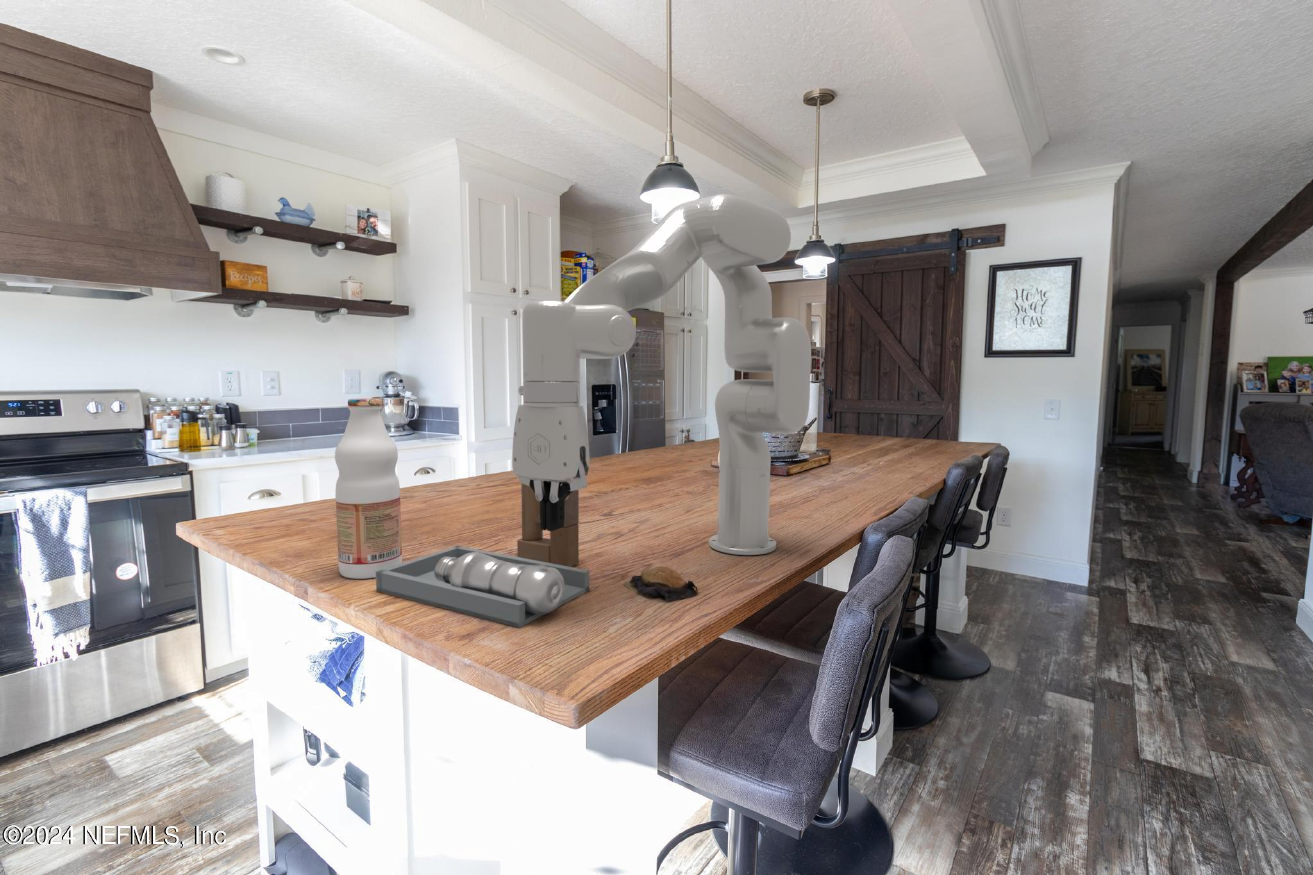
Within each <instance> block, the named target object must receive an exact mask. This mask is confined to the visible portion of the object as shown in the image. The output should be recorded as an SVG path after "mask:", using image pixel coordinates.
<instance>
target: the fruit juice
mask: <svg viewBox="0 0 1313 875" xmlns="http://www.w3.org/2000/svg"><path fill="white" fill-rule="evenodd" d="M382 406H383V402H382V399H381V398H349V399H348V400H347V409H348V410H349V412H350V413H349V417H348V420H347V424H346V427H345V430H344V433H343V435H342V437H341V440H340V441H339V443H338V445H337V446H336V448H335V452H334V454H335V455H334V460H335V465H336V467H337V470H338V478H337V480H336V482H335V495H334V496H335V513H336V514H335V515H336V534H337V535H336V537H337V557H338V559H337V560H338V571H339V573H340V575H341V576H342V577H344V578H347V579H352V580H353V579H355V580H357V579H358V580H361V579H362V580H365V579H372V578H375V579H376V571H379V570H382V569H385V568H389V567H392V566H395V565H398V564H401V563H403V550H402V549H403V548H402V547H403V545H402V520H401V519H402V515H401V514H402V512H401V488H400V482H399V481H400V480H399V478H398V475H397V473H396V467H397V462H398V459H399V453H398V448H397V445H396V443H395V442H394V440H393V439H392V438H391V436H390V435H389V432H388V430H387V428H386V425H385V422H384V420H383V417H382V414H381V410H382V409H383V408H382Z"/></svg>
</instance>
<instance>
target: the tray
mask: <svg viewBox="0 0 1313 875" xmlns="http://www.w3.org/2000/svg"><path fill="white" fill-rule="evenodd" d="M472 552H479V553H482V554H485V555H488V556H490V557H493V558H496V559H498V560H502V561H506V562H509V563H514V564H524V565H537V564H538V565H548V566H551V567H553V568H555V569H557V570H558V571H559V572H560V573H561V575H562V576H563V578H564V584H565V588H564V594H563V597H562V600H561V602H560V604H559V605H558V607H557V608H559V607H561V606H562V605H565V604H566V603H568V602H570V601H572V600H573V599H576V598H577V597H579V596H581V595H584V594H585V593H587V592H589V591H590V586H591V585H590V584H591V583H590V582H591V581H590V580H591V579H590V577H591V576H590V574H591V572H590V570H589V569H583V568H577V567H574V566H573V567H568V566H563V565H557V564H552V563H547V562H542V561H536V560H531V559H526V558H520V557H518V556H514V555H508V554H506V553H505V554H504V553H499V552H493V551H490V550H489V551H488V550H483V549H477V548H472V547H466V546H461V545H455V546H452V547H448V548H445V549H442V550H439V551H436V552H433V553H430V554H426V555H423V556H420V557H418V558H414V559H411V560H407V561H404V562H402V563H401V564H398V565H395V566H392V567H389V568H385V569H382V570H379V571H376V577H375V587H376V588H375V589H376V590H375V592H377V593H381V594H385V595H389V596H393V597H398V598H400V599H401V598H402V599H405V600H409V601H413V602H417V603H419V604H423V605H428V606H431V607H437V608H440V609H443V610H449V611H451V612H454V613H459V614H463V615H467V616H469V617H470V616H471V617H474V618H479V619H482V620H486V621H491V622H493V623H498V624H502V625H506V626H508V627H509V626H510V627H513V628H517V629H520V628H522V627H523V626H525V625H527V624H530V623H531V622H533V621H535V620H536V619H539V618H541V617H543V616H544V615H545V614H532V613H529V612H527V611H525V602H522V601H517V600H513V599H509V598H504V597H500V596H496V595H491V594H487V593H483V592H478V591H474V590H470V589H465V588H461V587H456V586H452V585H451V584H448V583H445V582H442V581H439V580H437V579H436V577H435V574H434V570H435V566H436V564H437V562H438V561H439V560H440V559H441V558H443V557H456V558H460V557H461V556H463V555H465V554H467V553H472Z"/></svg>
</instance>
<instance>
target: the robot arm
mask: <svg viewBox="0 0 1313 875" xmlns="http://www.w3.org/2000/svg"><path fill="white" fill-rule="evenodd" d="M791 238H792V233H791V228H790V225H789V222H788V221H787V219H786V218H785V217H784V215H783V214H782V213H781V212H780V211H778V210H777V209H775V208H773V207H769V206H767V205H764V204H762V203H759V202H756V201H753V200H750V199H747V198H745V197H741V196H737V195H734V194H729V193H724V194H723V193H720V194H714V195H710V196H707V197H703V198H699V199H695V200H691V201H686V202H683V203H681V204H678V205H676V206H675V207H673V208H672V209H671V210H670V211H668V212H667V213H666V215H664V216H663V218H661V219H660V220H659V222H657V224H656V225H655V226H653V228H652V229H651V230H650V231H649V232H648V233H647V234H646V235H645V236H644V237H643V239H642V240H640V241H639V242H638V244H636V245H635V247H633V248H632V249H631V250H630V251H629V252H628V253H626V254H625V255H623V256H621V257H620V258H619V259H616V260H615V261H613V262H612V263H611V264H610V265H608V266H606V267H605V268H603V269H602V270H601V271H599V272H598V273H596V274H594V275H592V277H590V278H588V279H587V280H585V281H584V282H583V283H582V284H581V285H579V286H578V287H577V288H576V289H574V291H572V292H571V293H570V294H569V295H568V296H567V297H566V298H565V300H564V301H561V300H535V301H530V302H528V303H527V304H525V306H524V308H523V310H522V385H520V386H519V388H518V394H519V395H520V396H523V397H522V401H523V402H522V403H523V404H519V405H518V407H517V411H516V415H515V419H514V427H513V438H512V452H511V455H512V456H511V457H512V458H511V459H512V462H511V466H512V471H513V474H514V475H515V476H517V477H518V482H519V483H520V484H521V483H523V484H525V485H527V486H530V487H531V488H532V490H533V491H534V492H535V495H536V499H537V500H538V501H540V521H541V530H543V531H548V532H550V531H554V530H557V529H560V528H562V527H563V526H564V520H565V499H568V497H569V495H570V493H571V492H572V491H574V490H582V489H586V488H587V487H588V481H587V476H588V474H589V472H590V470H589V469H590V445H589V444H590V443H589V431H588V430H589V429H588V424H587V418H586V413H585V408H584V405H580V404H581V389H580V388H581V387H580V385H581V383H580V381H581V377H580V376H581V362H580V361H581V360H584V359H585V360H586V359H588V360H589V359H592V360H608V359H614V358H615V359H616V358H619V357H621V356H623V355H624V354H626V353H627V352H628V351H629V350H630V349H631V348H632V347H633V345H634V343H635V340H636V337H637V327H636V323H635V321H634V318H633V317H632V315H630V313H629V311H631V310H634V309H637V308H639V307H643V306H645V305H648V304H650V303H651V304H652V302H655V301H657V300H659V299H661V298H663V297H665V296H667V295H668V294H669V293H670V292H671V291H672V290H673V289H674V288H675V287H676V286H677V284H678V283H679V282H680V281H681V279H683V278H684V277H685V275H686V274H687V273H688V272H689V271H690V270H691V268H692V267H693V266H694V265H695V264H696V263H697V262H698V261H699V260H700V259H701V260H702V261H703V262H704V263H705V265H707V267H708V268H709V270H710V271H712V273H713V274H714V275H715V277H716V279H717V280H718V282H719V283H720V286H721V287H722V290H723V295H724V344H723V345H724V347H723V348H724V357H725V360H726V364H727V365H728V366H729V368H731V369H732V370H734V371H737V372H743V373H772V377H773V378H772V379H756V378H755V379H754V378H752V379H751V378H750V379H747V378H746V379H745V378H744V379H736V380H731V381H729V382H726V383H724V385H722V386H721V387H720V388H719V389H718V391H717V393H716V396H715V401H714V410H715V418H716V422H717V430H718V438H719V442H718V443H719V461H718V462H719V463H718V465H719V466H718V468H719V469H718V503H717V504H718V506H717V508H718V510H717V513H718V514H717V519H718V520H717V534H714V535H712V536H711V537H710V538H709V540H708V541H709V546H710V548H712V549H713V550H716V551H718V552H721V553H724V554H729V555H739V556H740V555H741V556H757V555H764V554H765V555H766V554H769V553H773V551H775V550H776V549H777V541H776V540H775V539H774V538H772V537H770V536H769V525H770V521H769V520H770V518H769V517H770V488H771V485H770V484H771V482H770V481H771V460H772V457H771V450H770V448H769V444H768V442H767V440H766V439H765V436H764V435H763V433H765V434H766V433H767V434H778V435H792V434H796V433H797V432H799V431H801V430H802V429H803V428H804V426H805V424H806V423H807V420H808V416H809V411H810V401H811V400H810V399H811V395H810V394H811V375H812V374H811V373H812V372H811V370H812V369H811V368H812V365H811V364H812V344H811V343H812V342H811V338H810V334H809V332H808V329H807V328H806V326H805V325H804V324H803V322H801V321H800V320H798V319H796V318H795V317H794V318H793V317H787V316H786V317H773V312H772V311H773V309H772V308H773V306H772V305H773V303H772V300H773V297H772V296H773V295H772V288H771V286H770V284H769V282H768V280H767V278H766V276H765V275H764V274H763V272H762V271H761V270H760V269H759V267H758V266H759V265H767V264H772V263H776V262H778V261H780V260H781V259H782V258H783V257H784V256H785V255H786V254H787V252H788V250H789V248H790V245H791V240H792V239H791ZM571 480H572V481H571Z"/></svg>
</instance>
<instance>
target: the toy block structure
mask: <svg viewBox="0 0 1313 875" xmlns="http://www.w3.org/2000/svg"><path fill="white" fill-rule="evenodd" d="M520 484H521V489H520V490H521V494H520V495H521V538H520V539H517V541H516V542H517V543H516V546H517V549H516V550H517V557H520V558H526V559H531V560H536V561H542V562H547V563H552V564H557V565H563V566H568V567H573V568H574V567H575V566H577V565H578V564H579V558H580V556H579V555H580V554H579V553H580V552H579V550H580V549H579V548H580V546H579V538H580V536H579V526H580V525H579V521H580V518H579V516H580V514H579V511H580V508H579V507H580V506H579V505H580V504H579V502H580V500H579V498H580V497H579V496H580V495H579V490H574V491H572V492H571V493H570V495H569V497H568V499H565V520H564V526H563V527H562V528H560V529H557V530H554V531H549V537H550V538H548V537H547V538H546V537H544V530H541V521H540V501H538V500H537V499H536V495H535V492H534V491H533V490H532V488H531V487H530V486H527V485H525V484H523V483H521V482H520Z"/></svg>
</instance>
